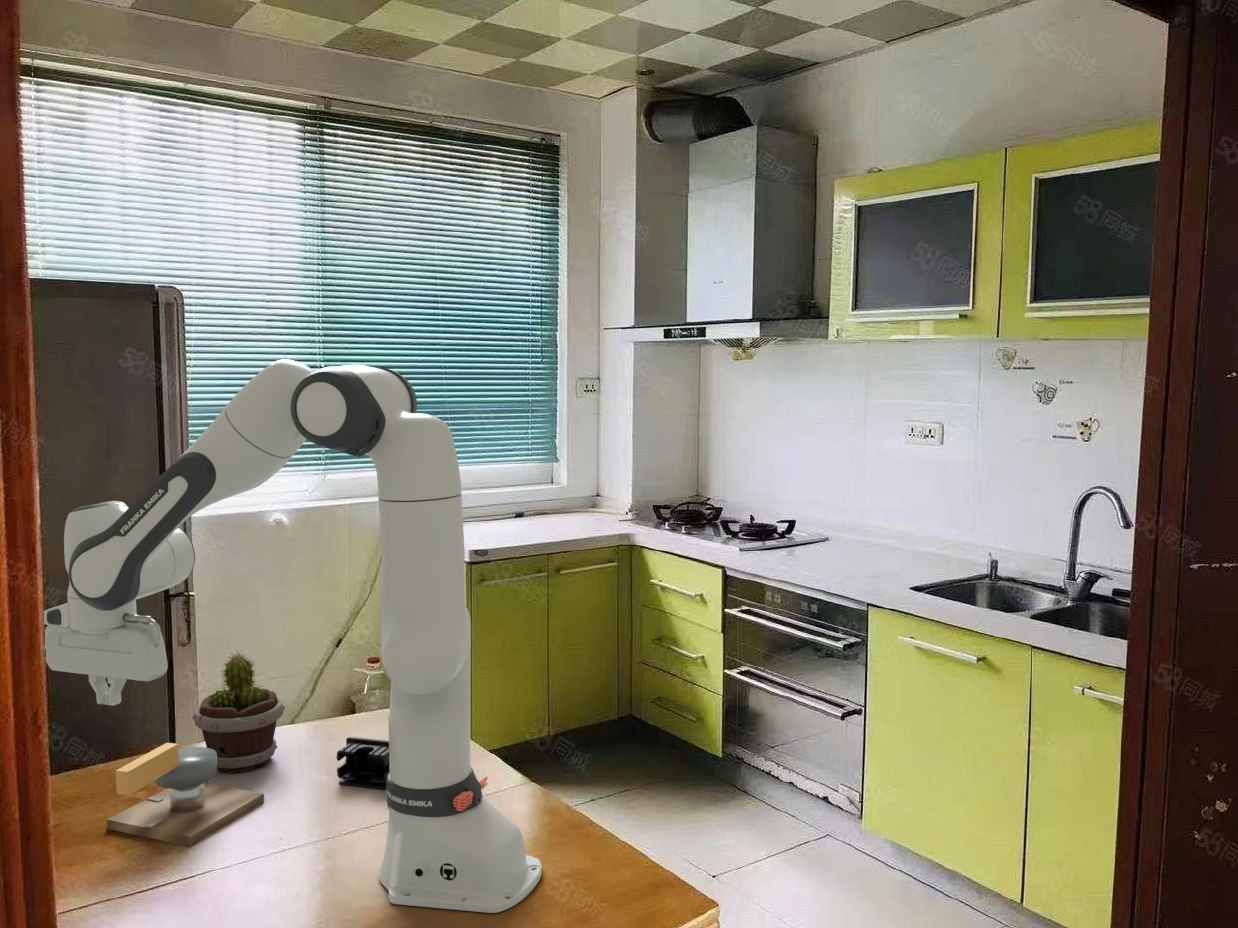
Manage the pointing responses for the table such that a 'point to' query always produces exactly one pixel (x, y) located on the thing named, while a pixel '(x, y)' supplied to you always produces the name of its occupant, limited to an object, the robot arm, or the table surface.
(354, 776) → the black slotted holder
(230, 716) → the flowerpot
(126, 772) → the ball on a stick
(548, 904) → the table surface
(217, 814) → the base plate
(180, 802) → the short grey cylinder
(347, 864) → the table surface
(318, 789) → the table surface
